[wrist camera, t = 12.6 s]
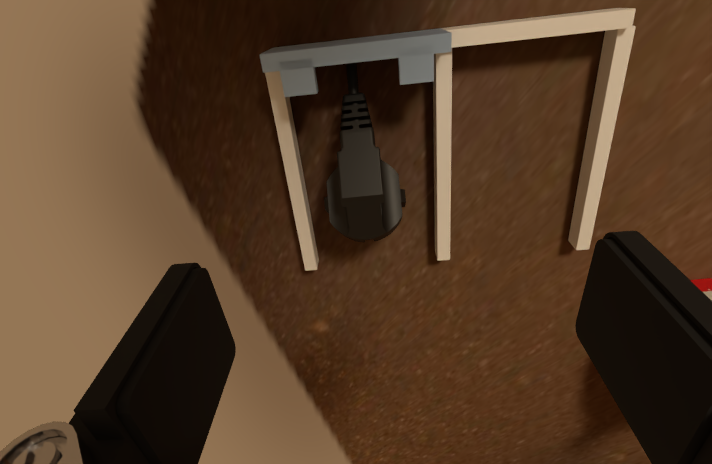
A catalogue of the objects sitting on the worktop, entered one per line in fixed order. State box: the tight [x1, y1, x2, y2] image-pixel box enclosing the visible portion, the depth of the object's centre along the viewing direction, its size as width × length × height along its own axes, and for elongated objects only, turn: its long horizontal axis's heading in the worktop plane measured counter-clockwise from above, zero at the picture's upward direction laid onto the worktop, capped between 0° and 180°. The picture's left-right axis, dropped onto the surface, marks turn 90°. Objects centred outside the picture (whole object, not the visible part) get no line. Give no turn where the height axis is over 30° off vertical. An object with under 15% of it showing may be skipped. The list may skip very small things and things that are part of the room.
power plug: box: [324, 63, 406, 242], centre depth 29 cm, size 6×8×12 cm
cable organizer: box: [260, 8, 636, 271], centre depth 29 cm, size 17×23×4 cm
